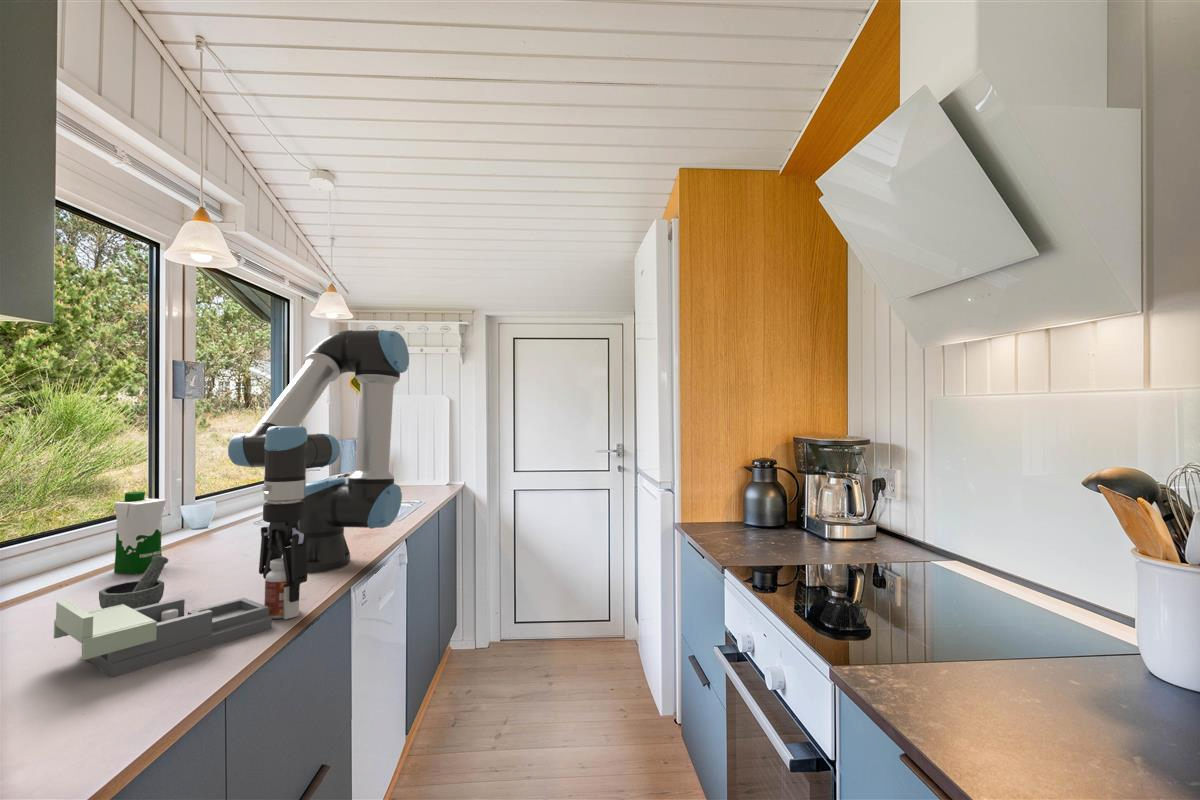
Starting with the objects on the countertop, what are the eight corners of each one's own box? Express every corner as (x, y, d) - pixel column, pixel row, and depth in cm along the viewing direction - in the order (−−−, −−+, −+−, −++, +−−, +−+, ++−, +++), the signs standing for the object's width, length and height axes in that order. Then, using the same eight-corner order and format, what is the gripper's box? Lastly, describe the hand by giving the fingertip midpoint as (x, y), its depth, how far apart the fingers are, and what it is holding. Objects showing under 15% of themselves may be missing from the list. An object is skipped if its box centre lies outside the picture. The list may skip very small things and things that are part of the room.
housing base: (238, 612, 114) (239, 583, 115) (274, 627, 107) (274, 596, 107) (81, 655, 94) (82, 619, 94) (111, 677, 86) (112, 638, 87)
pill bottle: (279, 621, 110) (281, 565, 110) (257, 617, 112) (258, 562, 112) (305, 611, 116) (307, 557, 116) (283, 607, 118) (284, 555, 118)
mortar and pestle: (118, 634, 103) (120, 569, 103) (85, 628, 106) (88, 564, 106) (181, 614, 114) (183, 555, 114) (149, 608, 117) (151, 551, 117)
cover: (122, 621, 99) (123, 587, 99) (156, 639, 91) (157, 603, 91) (53, 637, 91) (54, 601, 92) (83, 660, 83) (84, 619, 83)
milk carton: (142, 564, 150) (144, 490, 151) (169, 566, 148) (171, 491, 149) (107, 573, 142) (109, 494, 142) (134, 576, 139) (137, 496, 140)
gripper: (241, 498, 117) (238, 609, 116) (291, 507, 106) (288, 629, 105) (278, 494, 123) (275, 599, 122) (329, 502, 112) (326, 617, 112)
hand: (281, 613), depth 114 cm, fingers open, 7 cm apart
